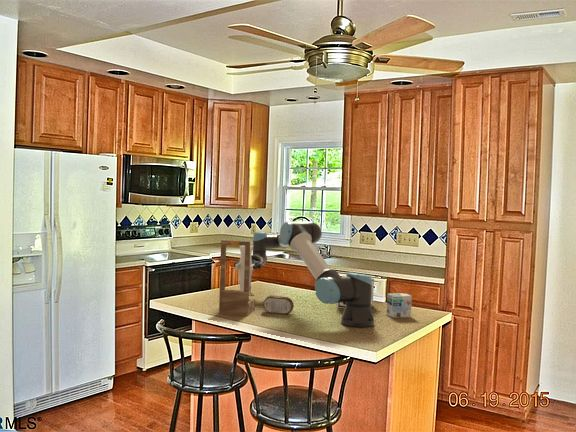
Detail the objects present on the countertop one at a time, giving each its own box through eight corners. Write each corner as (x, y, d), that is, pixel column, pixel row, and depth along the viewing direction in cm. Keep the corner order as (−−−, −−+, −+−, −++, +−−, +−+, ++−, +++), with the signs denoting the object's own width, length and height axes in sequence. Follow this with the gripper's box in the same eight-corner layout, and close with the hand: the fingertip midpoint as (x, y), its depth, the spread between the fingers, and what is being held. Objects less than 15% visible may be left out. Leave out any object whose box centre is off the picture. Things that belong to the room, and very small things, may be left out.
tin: (293, 314, 270) (294, 297, 269) (291, 315, 267) (292, 298, 266) (264, 311, 274) (264, 294, 273) (262, 312, 271) (262, 295, 270)
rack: (246, 316, 262) (249, 241, 260) (218, 313, 265) (220, 239, 263) (254, 309, 276) (256, 238, 275) (227, 307, 279) (229, 237, 277)
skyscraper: (255, 296, 282) (257, 242, 281) (239, 297, 279) (242, 242, 278) (250, 293, 290) (252, 240, 288) (235, 293, 287) (237, 240, 285)
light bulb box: (391, 317, 269) (392, 296, 268) (385, 314, 275) (386, 293, 275) (411, 317, 272) (412, 295, 271) (405, 314, 278) (406, 293, 278)
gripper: (272, 269, 300) (262, 276, 277) (237, 267, 304) (224, 273, 281) (272, 256, 299) (262, 261, 277) (237, 253, 303) (224, 259, 281)
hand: (243, 267), depth 279 cm, fingers closed on skyscraper, 7 cm apart
